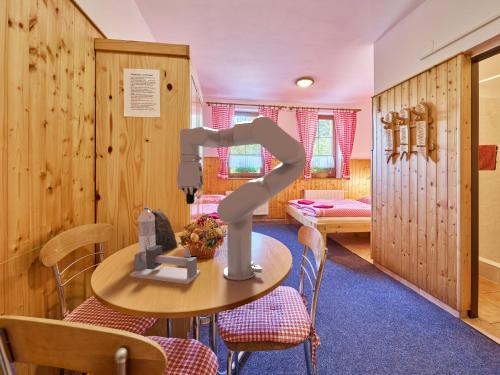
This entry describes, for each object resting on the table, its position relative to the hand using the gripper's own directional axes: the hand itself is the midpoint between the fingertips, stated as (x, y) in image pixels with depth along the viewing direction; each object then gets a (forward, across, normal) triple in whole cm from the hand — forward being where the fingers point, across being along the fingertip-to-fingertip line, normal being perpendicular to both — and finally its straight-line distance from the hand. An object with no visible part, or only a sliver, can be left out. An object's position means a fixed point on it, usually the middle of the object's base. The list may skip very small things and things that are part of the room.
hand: (190, 203), depth 104 cm
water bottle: (+27, +20, +2) cm, 34 cm away
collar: (+24, +11, +10) cm, 28 cm away
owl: (+27, +25, -18) cm, 41 cm away
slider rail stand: (+27, +6, +10) cm, 30 cm away
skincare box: (+27, +6, -12) cm, 30 cm away
